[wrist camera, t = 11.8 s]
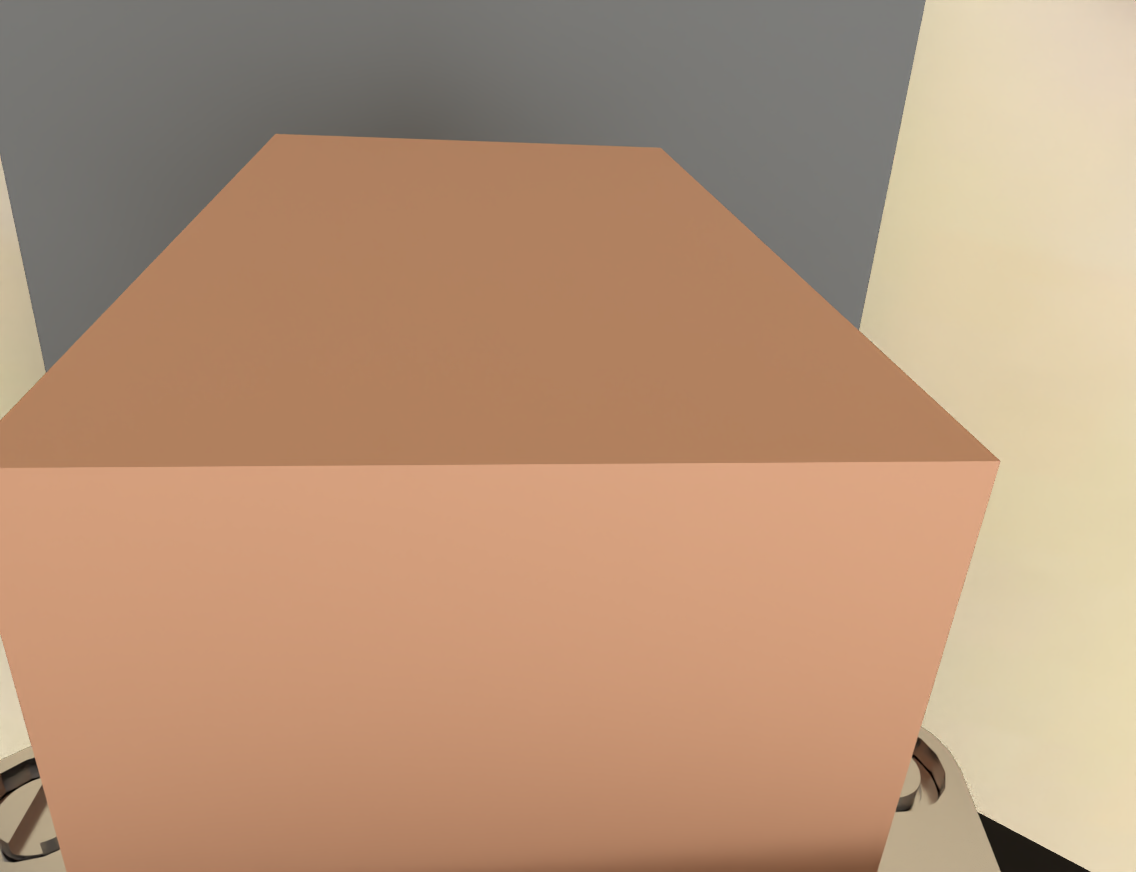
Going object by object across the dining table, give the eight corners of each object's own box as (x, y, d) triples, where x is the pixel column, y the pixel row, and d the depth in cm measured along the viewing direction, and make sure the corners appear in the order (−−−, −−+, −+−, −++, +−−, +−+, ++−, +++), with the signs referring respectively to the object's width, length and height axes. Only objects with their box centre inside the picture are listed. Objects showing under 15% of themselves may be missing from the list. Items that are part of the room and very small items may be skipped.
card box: (660, 147, 10) (1001, 460, 4) (596, 810, 15) (705, 1442, 8) (276, 133, 10) (-44, 469, 3) (333, 823, 14) (242, 1507, 8)
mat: (775, 665, 27) (786, 688, 26) (129, 685, 25) (117, 712, 24) (952, -255, 18) (979, -267, 17) (-78, -351, 15) (-111, -370, 15)
